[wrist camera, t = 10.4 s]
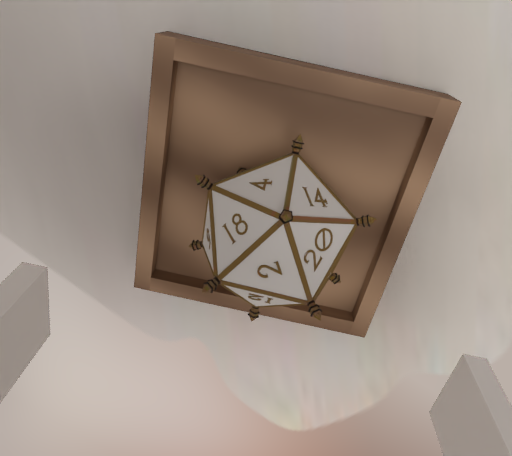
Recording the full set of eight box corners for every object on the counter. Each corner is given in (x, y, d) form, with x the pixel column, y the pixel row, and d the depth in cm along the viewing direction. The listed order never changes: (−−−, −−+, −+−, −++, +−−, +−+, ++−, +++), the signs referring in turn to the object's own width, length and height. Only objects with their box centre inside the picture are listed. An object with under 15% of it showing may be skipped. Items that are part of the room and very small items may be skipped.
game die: (275, 149, 28) (300, 66, 18) (366, 251, 27) (445, 223, 17) (164, 240, 26) (124, 204, 16) (256, 350, 25) (273, 382, 16)
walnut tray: (167, 31, 23) (155, 33, 21) (447, 94, 23) (461, 102, 21) (145, 268, 30) (134, 286, 28) (360, 315, 30) (364, 337, 28)
